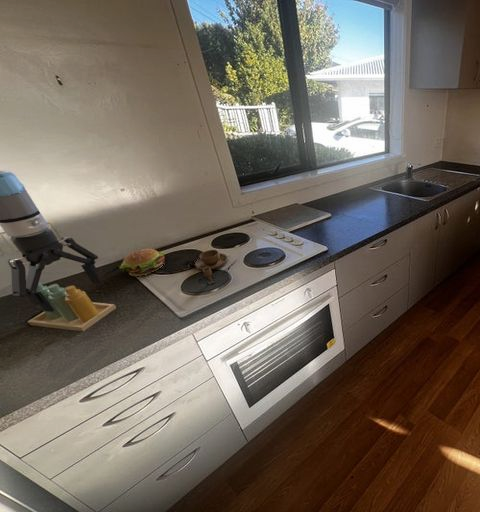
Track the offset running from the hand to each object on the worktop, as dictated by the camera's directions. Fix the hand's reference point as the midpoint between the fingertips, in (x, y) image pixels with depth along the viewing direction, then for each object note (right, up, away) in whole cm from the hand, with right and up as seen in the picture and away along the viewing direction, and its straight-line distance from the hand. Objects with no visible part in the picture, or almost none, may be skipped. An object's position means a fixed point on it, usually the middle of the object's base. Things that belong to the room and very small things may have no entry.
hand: (74, 295), depth 87 cm
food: (-3, +6, +30) cm, 30 cm away
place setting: (+23, +6, +29) cm, 37 cm away
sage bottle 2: (-6, -7, +5) cm, 11 cm away
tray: (-6, -8, +6) cm, 11 cm away
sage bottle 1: (-12, -7, +6) cm, 15 cm away
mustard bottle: (0, -8, +5) cm, 9 cm away
